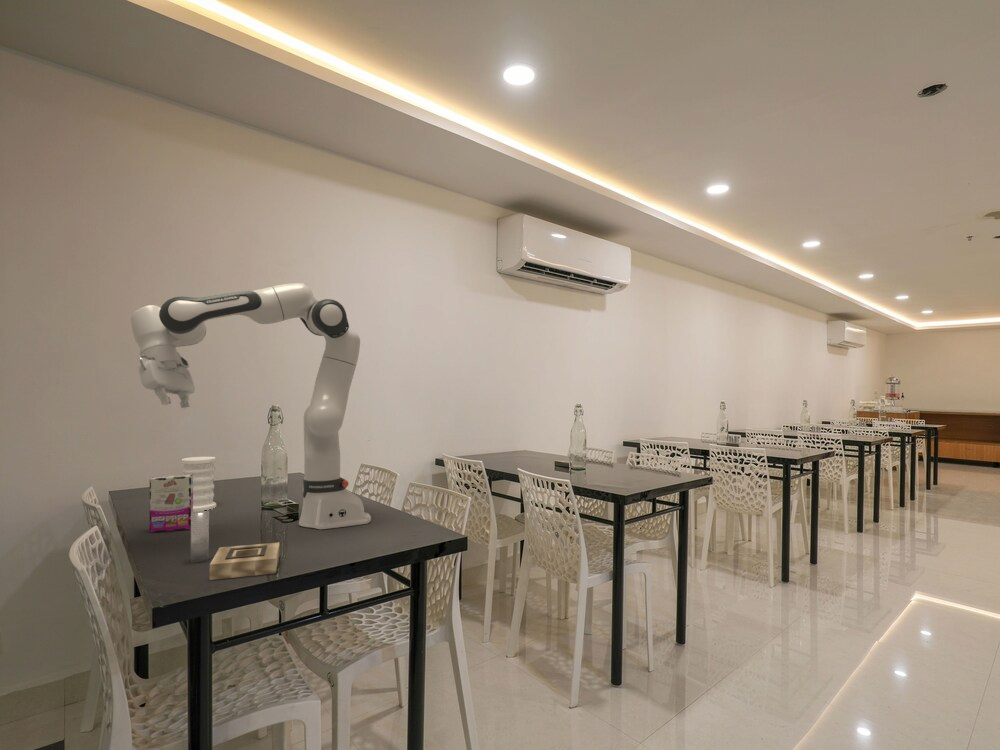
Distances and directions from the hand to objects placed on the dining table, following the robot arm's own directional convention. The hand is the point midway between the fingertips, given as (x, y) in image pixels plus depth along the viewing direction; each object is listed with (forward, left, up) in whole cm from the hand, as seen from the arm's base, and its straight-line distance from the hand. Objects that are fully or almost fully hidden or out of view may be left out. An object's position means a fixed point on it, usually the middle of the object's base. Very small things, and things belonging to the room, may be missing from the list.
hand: (176, 405), depth 153 cm
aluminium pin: (-9, +17, -39) cm, 43 cm away
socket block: (-21, +27, -39) cm, 52 cm away
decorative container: (+3, -49, -39) cm, 63 cm away
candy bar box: (+5, -19, -39) cm, 44 cm away
